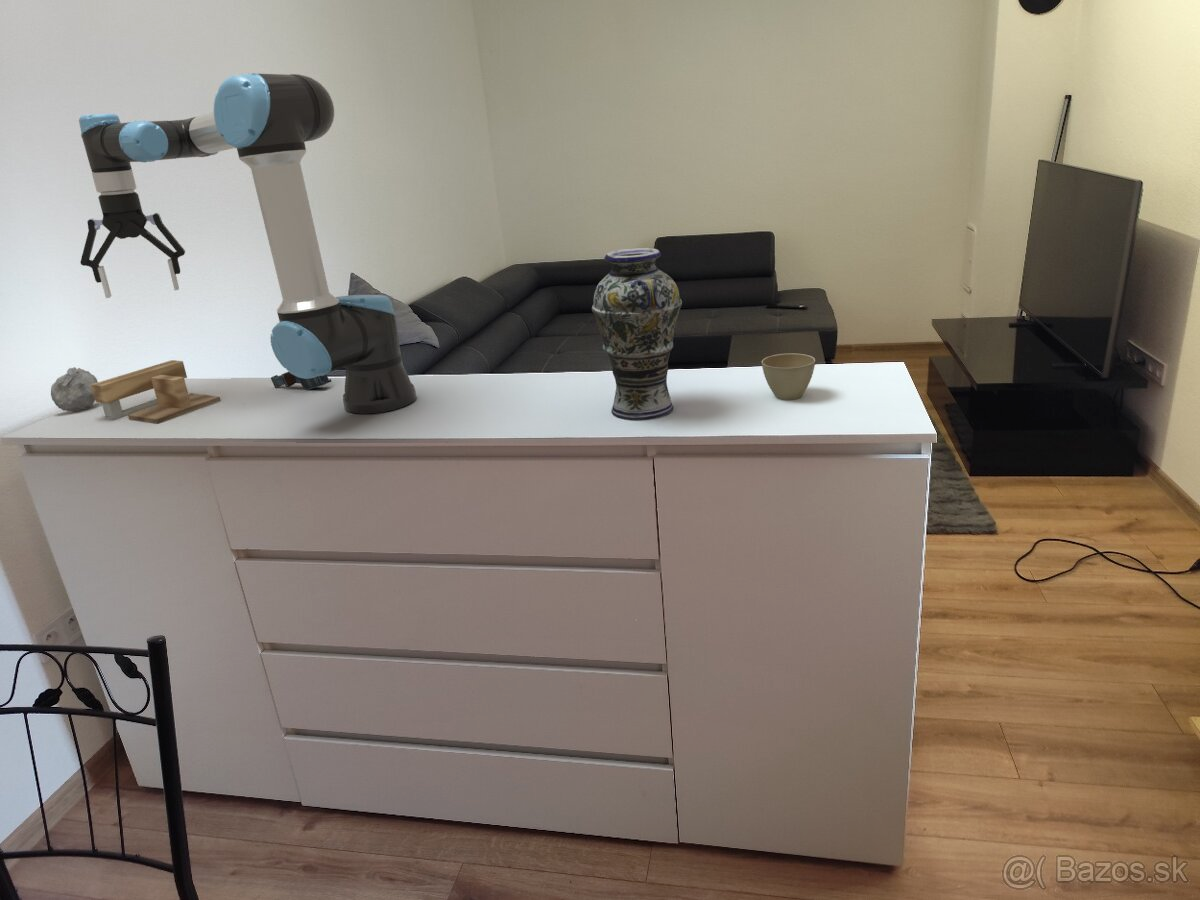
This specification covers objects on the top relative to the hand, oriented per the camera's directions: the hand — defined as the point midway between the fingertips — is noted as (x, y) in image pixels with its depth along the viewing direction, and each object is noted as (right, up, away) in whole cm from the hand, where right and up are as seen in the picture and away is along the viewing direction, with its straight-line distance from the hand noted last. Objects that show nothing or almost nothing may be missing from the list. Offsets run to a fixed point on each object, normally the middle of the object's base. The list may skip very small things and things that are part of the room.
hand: (143, 293), depth 188 cm
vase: (+109, -27, -23) cm, 114 cm away
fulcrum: (+6, -26, +2) cm, 26 cm away
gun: (+31, -20, +11) cm, 39 cm away
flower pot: (+137, -24, -22) cm, 141 cm away
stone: (-19, -25, +9) cm, 33 cm away
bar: (-3, -21, +6) cm, 22 cm away
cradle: (-3, -24, +7) cm, 26 cm away
